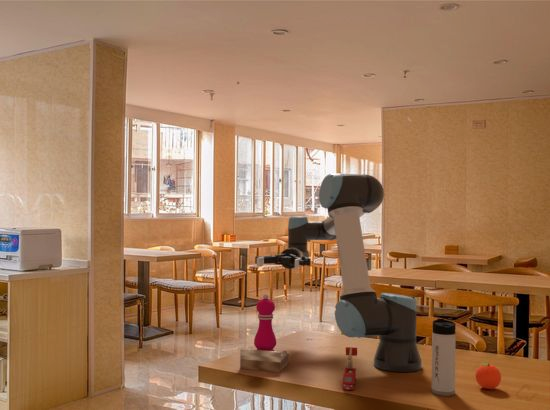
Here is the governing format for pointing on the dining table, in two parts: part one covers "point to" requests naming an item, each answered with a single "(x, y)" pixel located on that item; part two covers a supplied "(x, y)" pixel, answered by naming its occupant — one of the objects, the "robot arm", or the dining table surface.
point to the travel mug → (443, 357)
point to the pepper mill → (265, 325)
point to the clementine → (488, 376)
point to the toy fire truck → (349, 378)
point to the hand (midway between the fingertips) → (276, 262)
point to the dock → (263, 360)
